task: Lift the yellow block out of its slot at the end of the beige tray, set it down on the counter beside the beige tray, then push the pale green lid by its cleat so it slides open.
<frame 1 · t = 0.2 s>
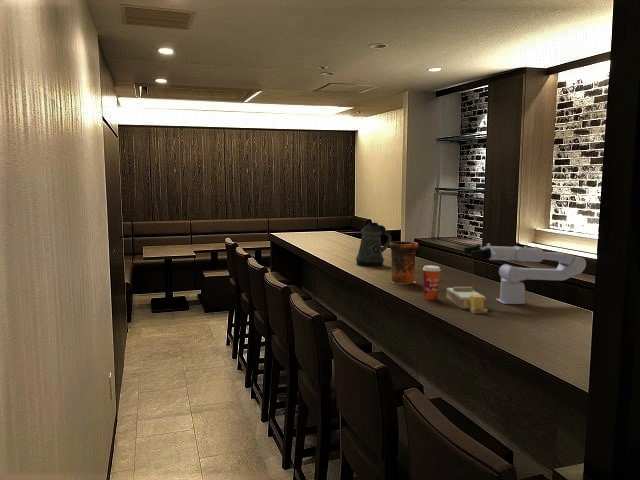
hand: (467, 252, 220), 21 cm above the table, tool horizontal, fingers open, 7 cm apart
beige tray: (464, 303, 221), on the table
lid: (465, 291, 220), point 5 cm above the table, slide at 0.0 cm
vessel: (402, 282, 264), on the table
yellow block: (476, 310, 209), on the table
paper cup: (430, 299, 229), on the table
beer stein: (371, 264, 315), on the table
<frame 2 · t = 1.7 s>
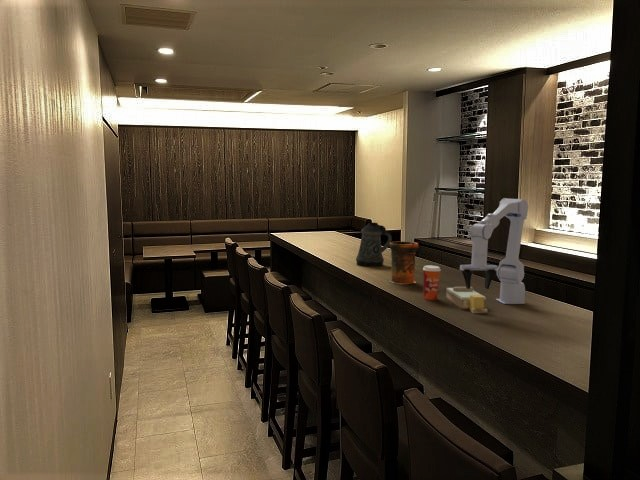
hand: (477, 288, 208), 9 cm above the table, tool pointing down, fingers open, 7 cm apart
nothing on the table moved.
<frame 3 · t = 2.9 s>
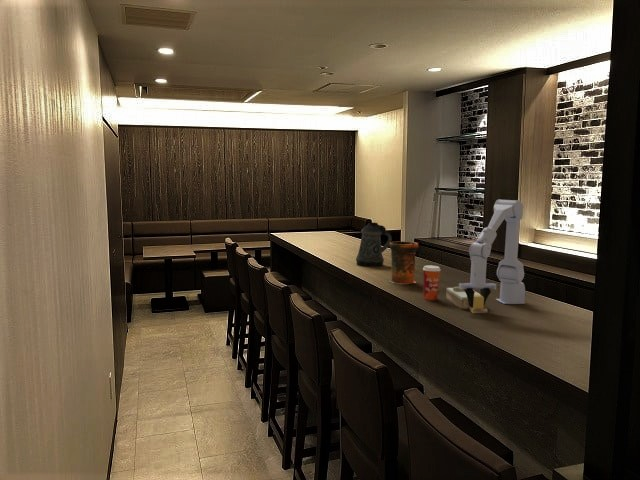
hand: (476, 306, 209), 2 cm above the table, tool pointing down, fingers closed on yellow block, 4 cm apart
yellow block: (476, 310, 209), on the table, touching gripper
everything else where it was.
when the fingers open (3 cm above the table, at t = 5.8 s): yellow block drops 1 cm, on the table.
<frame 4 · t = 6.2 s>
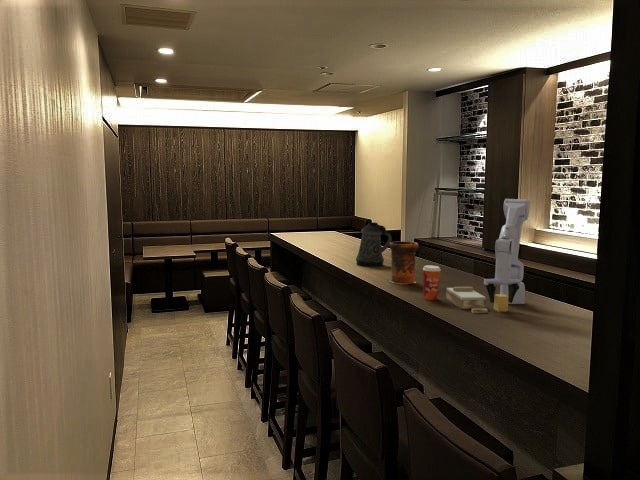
hand: (501, 302, 211), 3 cm above the table, tool pointing down, fingers open, 7 cm apart
yellow block: (500, 310, 211), on the table
everything else where it was.
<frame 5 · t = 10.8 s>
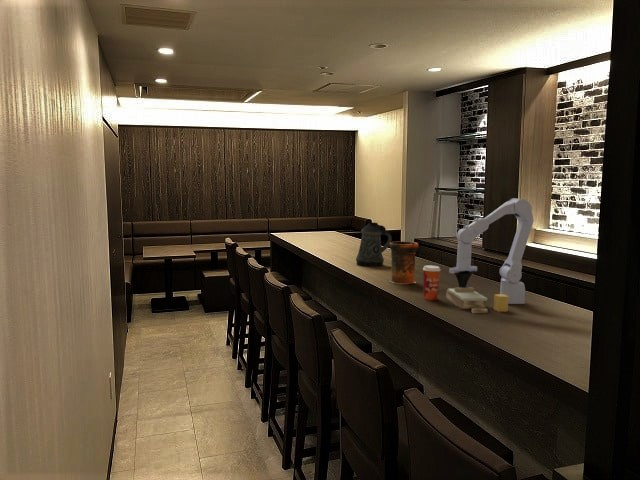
hand: (462, 288, 224), 5 cm above the table, tool pointing down, fingers closed
lid: (466, 292, 219), point 5 cm above the table, slide at 1.5 cm, touching gripper
everything else where it was.
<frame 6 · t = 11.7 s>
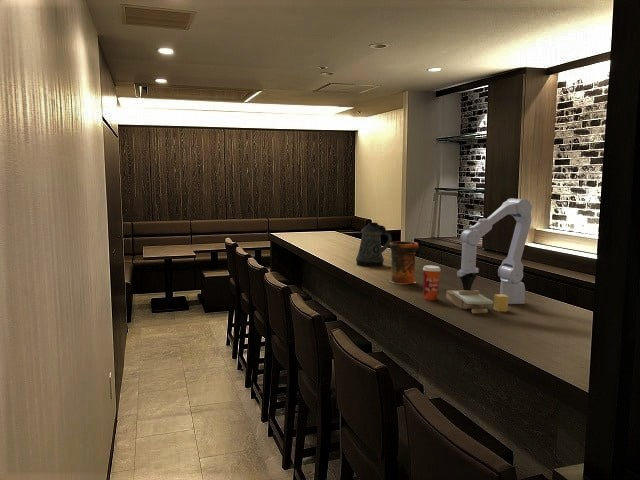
hand: (466, 291, 219), 5 cm above the table, tool pointing down, fingers closed
lid: (471, 295, 214), point 5 cm above the table, slide at 6.8 cm, touching gripper
everything else where it was.
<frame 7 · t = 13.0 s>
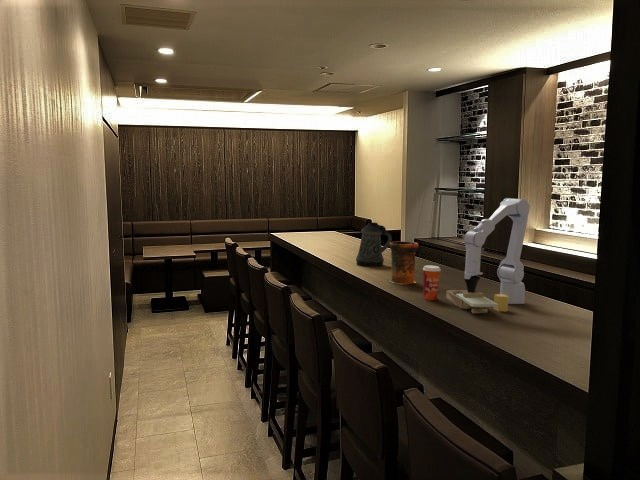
hand: (471, 293, 214), 5 cm above the table, tool pointing down, fingers closed
lid: (476, 297, 209), point 5 cm above the table, slide at 11.2 cm, touching gripper
everything else where it was.
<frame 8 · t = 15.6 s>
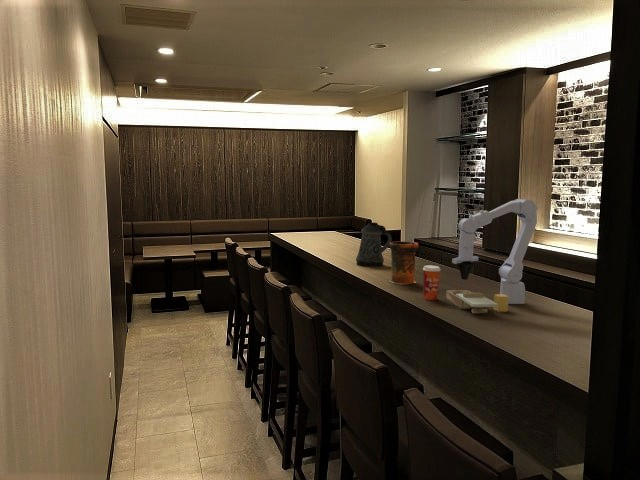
hand: (464, 279, 222), 10 cm above the table, tool pointing down, fingers closed
lid: (476, 297, 209), point 5 cm above the table, slide at 11.2 cm
everything else where it was.
at the end: lid slide at 11.2 cm; yellow block inside the target area (0.0 cm from its centre), on the table; the gripper is holding nothing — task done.
